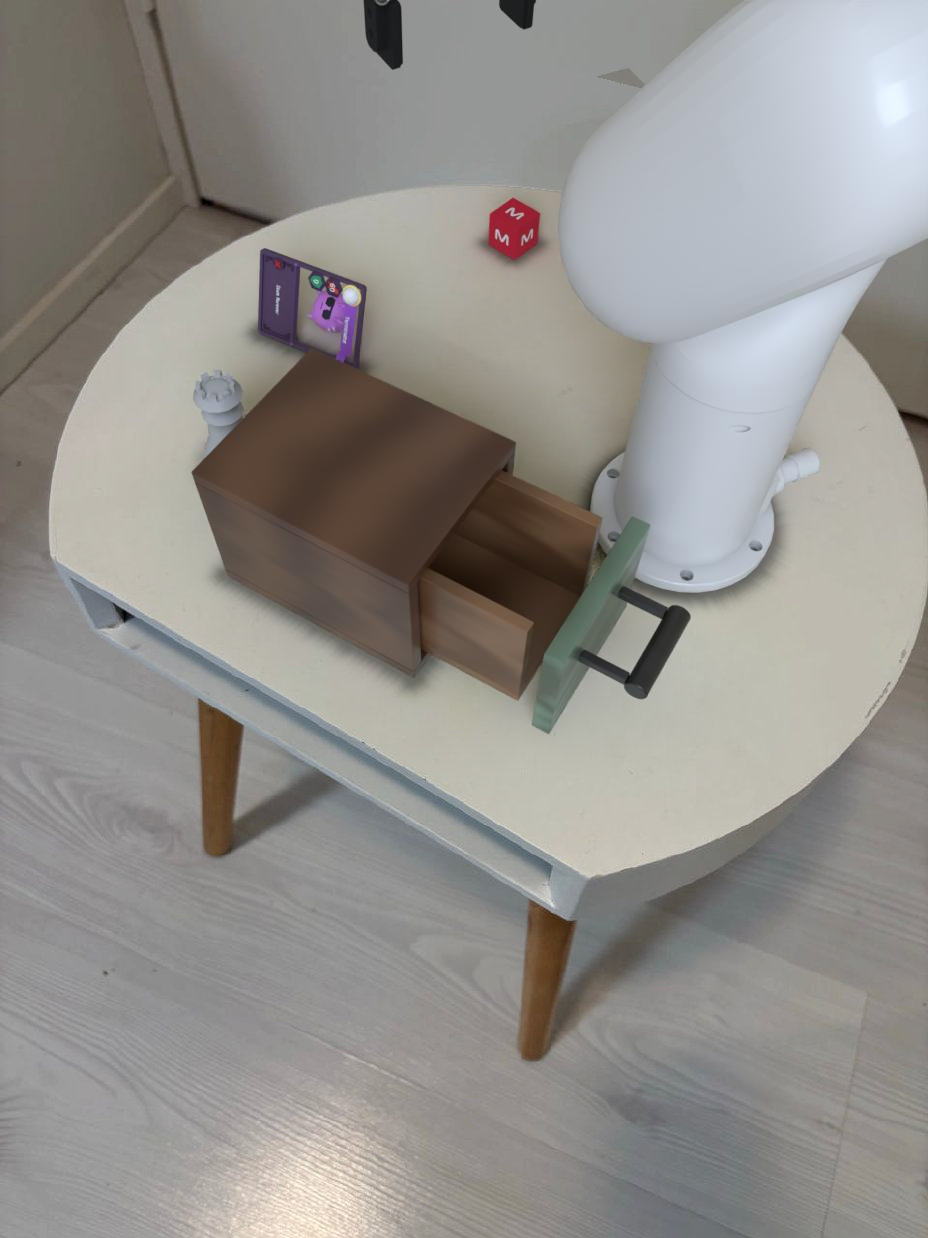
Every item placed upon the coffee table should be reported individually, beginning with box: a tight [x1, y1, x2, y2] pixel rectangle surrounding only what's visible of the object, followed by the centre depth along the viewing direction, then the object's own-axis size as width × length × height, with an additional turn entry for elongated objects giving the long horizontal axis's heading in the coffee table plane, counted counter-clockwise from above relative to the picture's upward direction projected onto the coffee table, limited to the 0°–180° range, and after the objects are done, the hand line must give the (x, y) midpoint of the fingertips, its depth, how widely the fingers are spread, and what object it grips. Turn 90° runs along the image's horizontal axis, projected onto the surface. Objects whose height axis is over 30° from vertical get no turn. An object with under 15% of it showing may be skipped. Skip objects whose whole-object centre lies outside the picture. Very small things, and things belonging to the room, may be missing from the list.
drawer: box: [417, 470, 692, 735], centre depth 58 cm, size 18×11×9 cm, turn 59°
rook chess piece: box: [192, 369, 245, 459], centre depth 66 cm, size 4×4×8 cm
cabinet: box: [190, 348, 517, 679], centre depth 61 cm, size 15×12×11 cm
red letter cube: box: [487, 197, 541, 261], centre depth 81 cm, size 3×3×3 cm
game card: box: [257, 247, 368, 370], centre depth 74 cm, size 7×5×9 cm
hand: (452, 37), depth 63 cm, fingers open, 9 cm apart
